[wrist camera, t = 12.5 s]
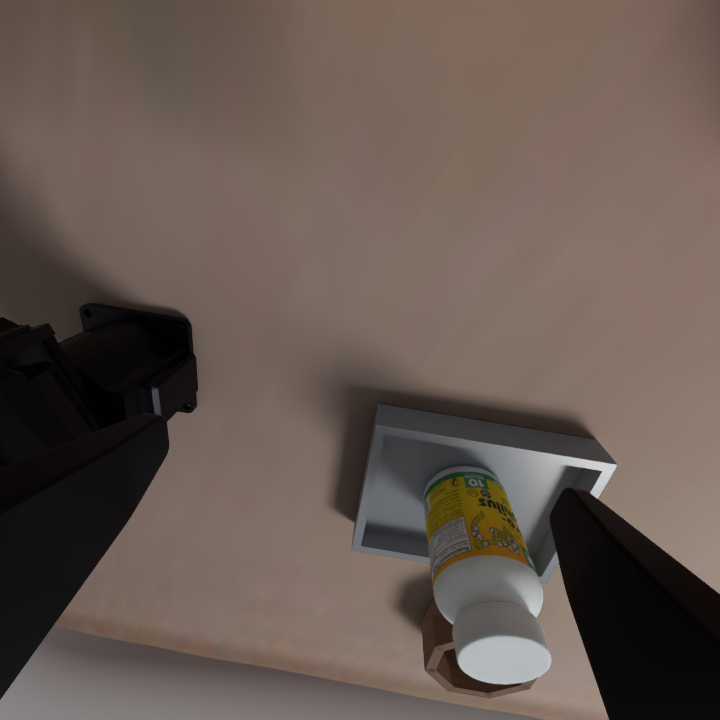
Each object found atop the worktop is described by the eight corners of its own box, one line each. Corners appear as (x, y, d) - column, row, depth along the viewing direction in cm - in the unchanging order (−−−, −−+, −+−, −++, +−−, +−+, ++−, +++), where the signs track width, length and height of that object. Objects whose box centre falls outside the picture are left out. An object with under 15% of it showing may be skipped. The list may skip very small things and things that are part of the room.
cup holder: (415, 639, 33) (418, 686, 30) (437, 581, 29) (442, 628, 26) (507, 655, 33) (519, 703, 30) (540, 599, 29) (558, 648, 26)
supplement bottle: (406, 490, 24) (414, 655, 16) (468, 448, 22) (515, 608, 14) (458, 532, 26) (492, 705, 17) (520, 495, 24) (595, 669, 15)
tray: (354, 523, 27) (351, 550, 25) (377, 403, 22) (376, 424, 20) (534, 553, 27) (546, 583, 25) (596, 439, 22) (617, 465, 20)
